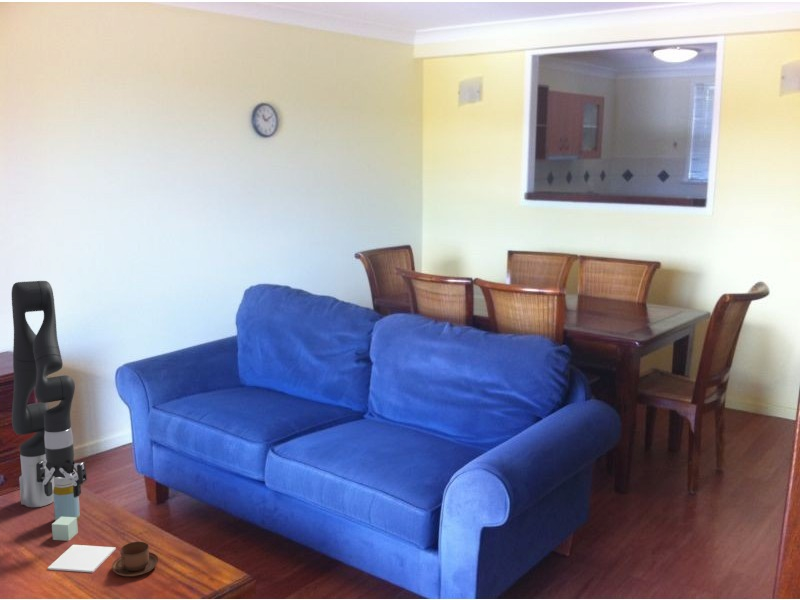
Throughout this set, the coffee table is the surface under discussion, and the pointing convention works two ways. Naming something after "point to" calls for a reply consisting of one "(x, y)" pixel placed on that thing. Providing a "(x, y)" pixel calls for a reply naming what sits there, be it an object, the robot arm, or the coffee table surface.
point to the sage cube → (64, 528)
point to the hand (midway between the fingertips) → (63, 496)
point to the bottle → (65, 499)
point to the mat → (82, 558)
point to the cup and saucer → (134, 560)
